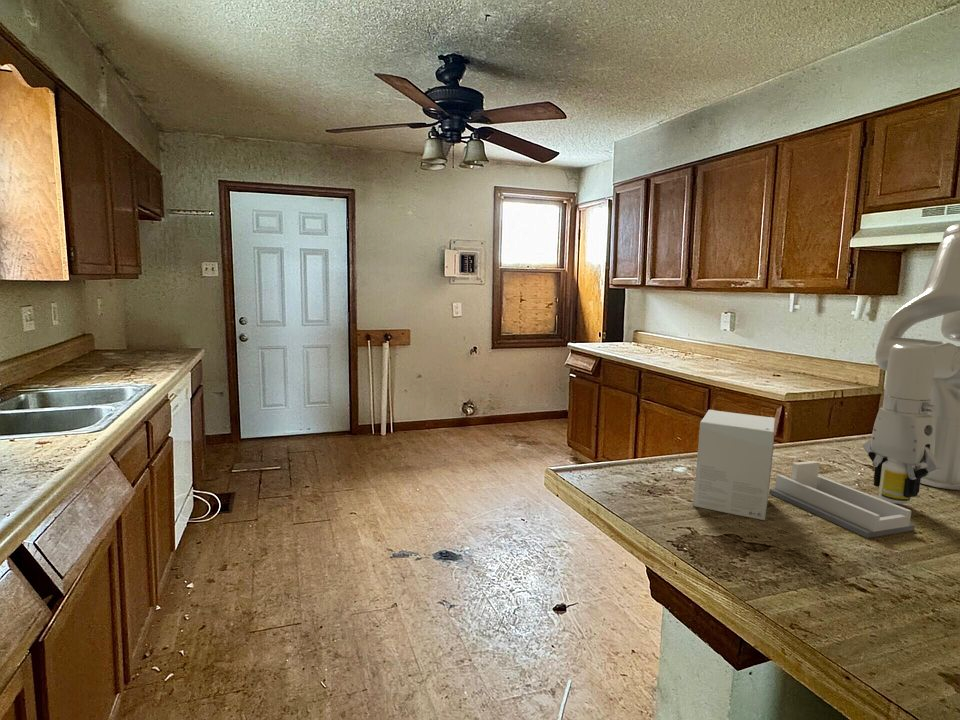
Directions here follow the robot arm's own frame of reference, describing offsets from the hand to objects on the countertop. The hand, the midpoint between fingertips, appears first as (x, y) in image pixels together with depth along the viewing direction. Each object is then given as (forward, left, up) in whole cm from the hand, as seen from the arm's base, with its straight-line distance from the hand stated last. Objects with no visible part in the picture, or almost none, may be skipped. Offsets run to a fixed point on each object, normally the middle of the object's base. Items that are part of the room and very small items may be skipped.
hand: (895, 489), depth 119 cm
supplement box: (+33, -10, -3) cm, 34 cm away
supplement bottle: (0, 0, -2) cm, 2 cm away
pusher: (+15, -9, -2) cm, 17 cm away
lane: (+15, -1, -3) cm, 15 cm away
